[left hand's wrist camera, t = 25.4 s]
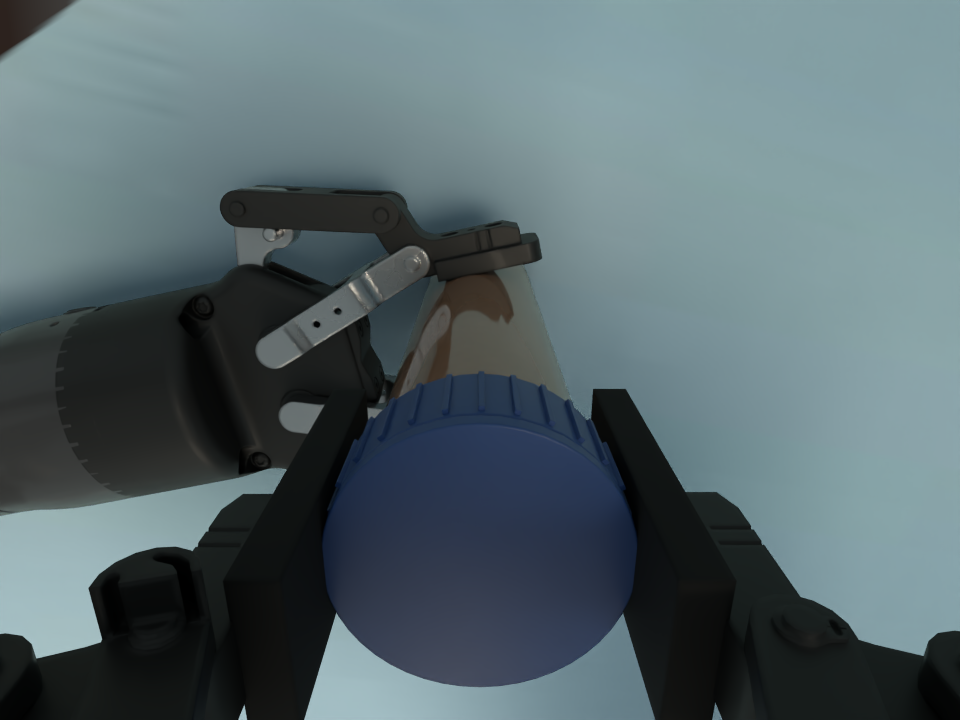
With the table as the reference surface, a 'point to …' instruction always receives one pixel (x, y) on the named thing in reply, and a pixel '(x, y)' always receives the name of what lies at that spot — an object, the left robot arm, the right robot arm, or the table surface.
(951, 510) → the table surface
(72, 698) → the left robot arm
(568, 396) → the tan cylinder
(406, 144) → the table surface
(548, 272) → the table surface
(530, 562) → the lid
